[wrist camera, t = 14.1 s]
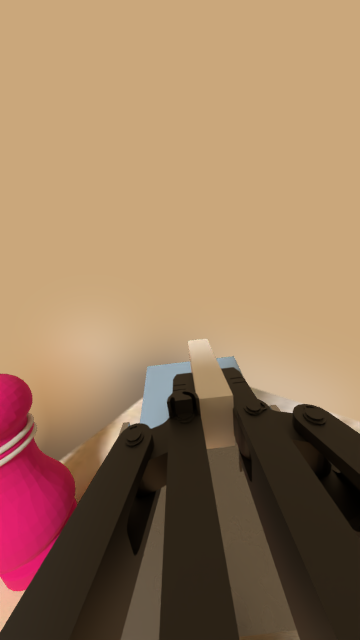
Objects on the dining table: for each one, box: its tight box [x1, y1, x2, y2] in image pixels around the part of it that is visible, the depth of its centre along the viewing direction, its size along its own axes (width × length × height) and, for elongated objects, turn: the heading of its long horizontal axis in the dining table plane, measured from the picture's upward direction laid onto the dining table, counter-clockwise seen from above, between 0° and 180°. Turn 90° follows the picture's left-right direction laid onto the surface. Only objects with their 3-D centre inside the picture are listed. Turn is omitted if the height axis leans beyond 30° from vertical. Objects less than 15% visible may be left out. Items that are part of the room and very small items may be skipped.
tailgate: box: [140, 356, 242, 428], centre depth 30 cm, size 17×2×12 cm
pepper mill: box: [0, 374, 77, 591], centre depth 15 cm, size 7×7×20 cm
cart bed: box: [119, 405, 300, 640], centre depth 17 cm, size 22×14×6 cm, turn 92°
